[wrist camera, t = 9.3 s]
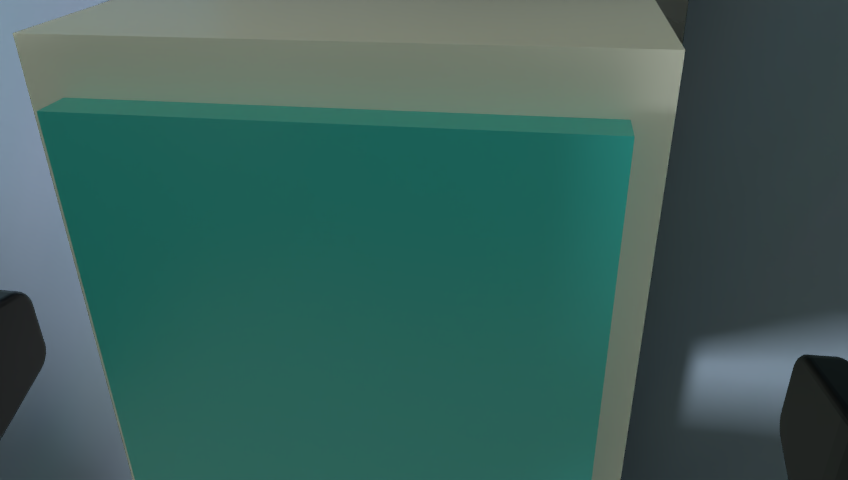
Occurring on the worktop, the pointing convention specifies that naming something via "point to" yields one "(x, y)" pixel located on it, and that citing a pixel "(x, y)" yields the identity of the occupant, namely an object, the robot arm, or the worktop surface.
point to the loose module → (362, 228)
